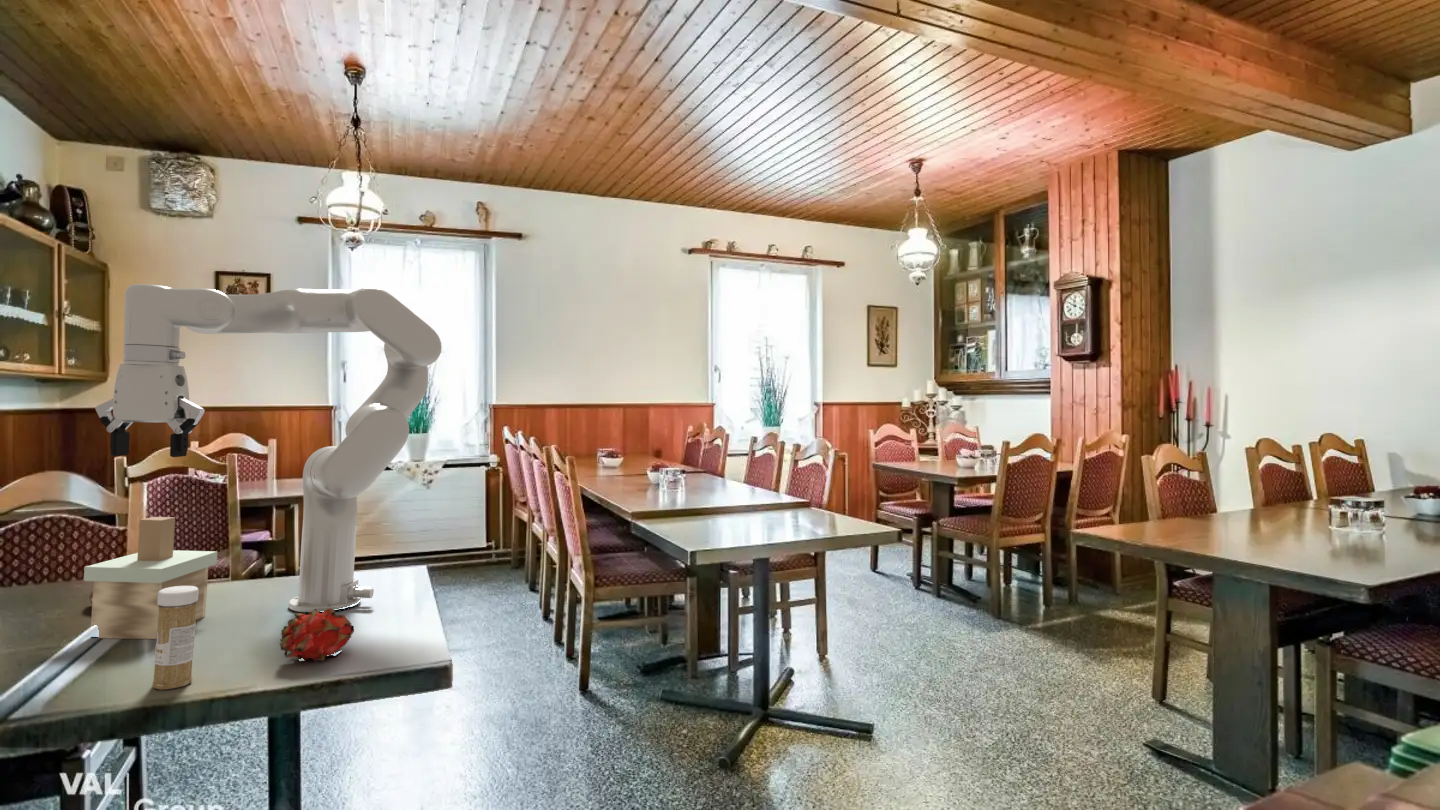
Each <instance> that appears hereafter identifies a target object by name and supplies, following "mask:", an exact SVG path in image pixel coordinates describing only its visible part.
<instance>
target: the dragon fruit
mask: <svg viewBox="0 0 1440 810" xmlns="http://www.w3.org/2000/svg"><path fill="white" fill-rule="evenodd" d="M354 627H355V626H354V625H353V624H352V622H351V621H350V620H349V619H348V618H347V617H346V615H345V614H336V611H334V610H333V609H332V608H329V609H327V610H325V611H324V612H322V613H319V612H318V611H317V609H314V610H313V611H312V612H309V613H306V614H305V613H303V612H298V613H296V614H294V618H291V619H289V620H288V622H287V625H284V626H283V628H282V629H281V633H280V634H281V639H279V641H280V643H279V646H280V650H281V651H284V652H283V653H284V654H283V655H284V657H285V658H288V659H289V658H290V659H291V658H297V657H298V658H297V660H298V659H301V658H303V659H304V660H305V661H307V660H308V659H312V660H313V659H314V660H313V661H315V660H316V661H320V660H319V659H321V660H323V659H324V660H325V659H326V657H325V656H327V655H331V654H334V652H336V651H340V650H341V649H342V647H344V646H345V645H347V643H348V642H349V640H350V639H351V638H352V636H353V634H354V632H355V628H354ZM288 652H290V653H288ZM327 657H328V656H327ZM307 658H308V659H307ZM306 659H307V660H306ZM324 660H323V661H324Z"/></svg>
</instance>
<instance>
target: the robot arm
mask: <svg viewBox="0 0 1440 810" xmlns="http://www.w3.org/2000/svg"><path fill="white" fill-rule="evenodd" d="M124 292H125V293H124V320H123V321H124V325H123V326H124V329H123V361H122V363H120V364H119V365H118V370H117V372H116V378H115V383H114V388H113V398H111V399H109V400H107V401H104V402H102V403H100V404H98V405H96V406H95V408H94V409H95V411H96V413H97V415H98V417H99V418H100V419H99V420H100V423H101V424H102V425H103V426H104V427H105V428H106V431H107V432H108V433H110V455H111V457H120V456H127V455H129V454H130V438H131V437H130V435H131V433H130V431H127V430H128V428H129V427H130V426H131V425H132V424H133V423H166V424H167V425H168V426H169V427H170V428H171V430H172V431H173V433H171V434H170V437H169V438H170V440H169V441H170V443H169V456H170V457H172V458H179V457H186V456H187V452H188V449H189V434H192V432H193V430H194V429H195V428H196V427H197V426H198V425H199V424H200V420H201V419H202V417H203V415H204V414H205V411H206V410H205V408H203V407H202V406H199V405H197V404H196V403H194V402H192V401H190V389H189V382H188V376H187V372H186V369H185V367H184V366H183V365H180V360H181V359H182V360H184V359H185V358H186V352H185V351H183V350H180V349H181V348H180V332H181V331H180V329H181V327H183V328H187V329H188V330H189V331H192V332H193V333H197V334H203V335H207V334H208V335H209V334H210V335H214V334H215V335H216V334H219V335H220V334H222V335H223V334H225V335H226V334H257V333H259V334H261V333H262V334H263V333H264V334H265V333H266V334H267V333H271V334H273V333H274V334H314V333H316V334H317V333H318V334H319V333H363V332H364V333H366V332H371V334H373V335H374V336H375V337H376V338H378V339H379V340H380V341H381V342H383V343H384V344H383V351H384V355H385V359H386V363H387V371H386V374H385V377H384V378H383V380H382V381H381V382H380V384H379V386H377V388H376V389H375V390H374V391H373V392H372V393H371V394H370V396H368V397H367V398H366V400H365V401H364V402H363V403H362V404H361V405H360V406H359V408H357V409H356V410H355V411H354V412H353V413H352V414H351V416H350V417H349V418H348V419H347V421H346V423H345V429H344V430H345V431H344V432H345V437H344V439H343V440H342V441H341V442H340V443H339V444H338V446H336V445H331V446H324V447H322V448H321V447H320V448H319V449H317V450H315V451H314V452H313V453H312V454H311V455H310V456H309V457H308V458H307V460H306V462H305V464H304V467H303V471H302V489H303V492H302V493H303V495H302V496H303V514H302V516H303V517H302V531H301V543H300V544H301V545H300V561H299V562H300V563H299V580H298V581H299V582H298V593H297V594H298V596H295V597H293V598H291V599H290V600H289V601H288V609H290V610H291V611H294V612H298V613H306V612H312V611H313V610H314V609H317V611H318V612H320V611H325V610H327V609H329V608H332V609H333V610H334V609H339V608H343V607H347V606H350V605H352V604H355V603H357V602H358V601H359V600H360V599H361V600H362V599H372V598H373V597H374V591H375V590H374V588H373V587H372V586H361V585H360V584H359V579H354V576H355V575H354V574H355V561H356V560H355V558H356V557H355V556H356V542H357V541H356V540H357V526H358V497H357V496H360V495H361V494H363V493H364V492H365V491H367V490H368V489H369V488H370V486H372V485H373V483H374V482H375V481H376V480H377V478H378V477H380V475H381V474H382V473H383V472H384V471H385V470H386V469H387V467H389V465H390V464H391V462H392V461H393V460H394V459H395V458H396V456H397V455H398V454H399V452H400V451H402V449H403V448H404V446H405V444H406V443H407V440H408V438H409V434H410V425H409V422H408V419H409V417H410V416H411V415H412V413H413V412H414V410H416V408H417V407H418V405H419V404H421V401H422V400H423V399H424V397H425V395H426V392H427V389H428V384H429V369H428V367H429V366H430V365H432V364H433V363H435V362H436V361H437V360H438V359H439V357H440V356H441V354H442V348H443V347H442V341H441V338H440V336H439V335H438V333H437V332H436V331H435V330H434V329H433V328H432V327H431V326H430V325H429V324H428V323H426V322H425V321H424V320H423V319H422V318H420V317H419V316H418V315H416V314H415V313H414V312H413V311H412V310H411V309H410V308H408V306H406V305H404V303H402V302H401V301H400V300H398V299H397V298H396V297H395V296H393V295H392V294H391V293H389V292H387V291H386V290H385V289H382V288H380V287H377V286H376V287H375V286H366V287H361V288H359V289H313V288H293V289H292V288H291V289H290V288H289V289H282V290H276V291H273V292H272V291H271V292H267V293H258V294H257V293H255V294H253V293H251V294H225V293H224V292H222V291H220V290H218V289H217V290H216V289H212V288H201V287H200V288H198V287H197V288H177V287H175V288H174V287H173V288H172V287H170V286H166V285H165V286H164V285H158V284H150V283H149V284H147V283H136V284H131V285H129V286H127V288H126V289H125V291H124ZM112 414H113V415H112Z"/></svg>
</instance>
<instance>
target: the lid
mask: <svg viewBox="0 0 1440 810" xmlns="http://www.w3.org/2000/svg"><path fill="white" fill-rule="evenodd" d="M175 526H176V517H173V516H172V517H171V516H151V517H147V518H142V519H139V528H138V529H139V530H138V543H137V552H135V553H132V554H127V555H125V556H120V557H116V558H113V559H109V560H105V561H102V562H97V563H94V564H91V565H87V566H84V570H83V571H84V573H83V582H94V581H104V582H143V583H162V582H165V581H168V580H171V579H174V578H177V577H180V576H183V575H186V574H189V573H191V572H194V571H197V570H200V569H203V568H206V567H208V568H209V567H212V566H214V565H217V563H218V551H212V550H210V551H209V550H207V551H206V550H176V549H174V543H175V541H174V540H175V528H176V527H175Z"/></svg>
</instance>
